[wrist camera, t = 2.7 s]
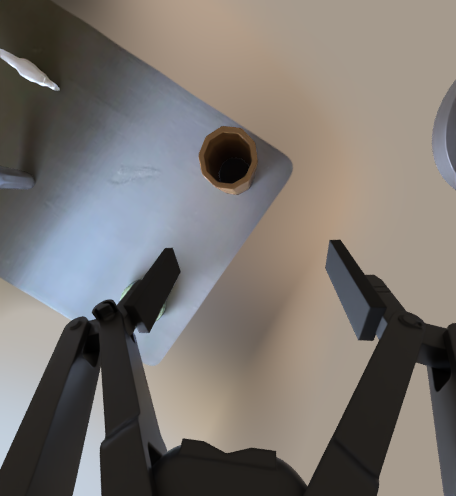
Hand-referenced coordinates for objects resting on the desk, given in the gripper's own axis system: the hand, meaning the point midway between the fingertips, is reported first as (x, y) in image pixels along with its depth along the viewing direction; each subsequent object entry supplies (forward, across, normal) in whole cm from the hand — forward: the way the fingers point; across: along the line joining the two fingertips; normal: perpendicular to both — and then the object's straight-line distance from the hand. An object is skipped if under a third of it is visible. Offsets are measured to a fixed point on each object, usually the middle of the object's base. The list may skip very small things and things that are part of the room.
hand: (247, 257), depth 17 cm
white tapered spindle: (+26, +37, -23) cm, 51 cm away
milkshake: (+20, +42, -6) cm, 47 cm away
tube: (+21, +3, -3) cm, 21 cm away
